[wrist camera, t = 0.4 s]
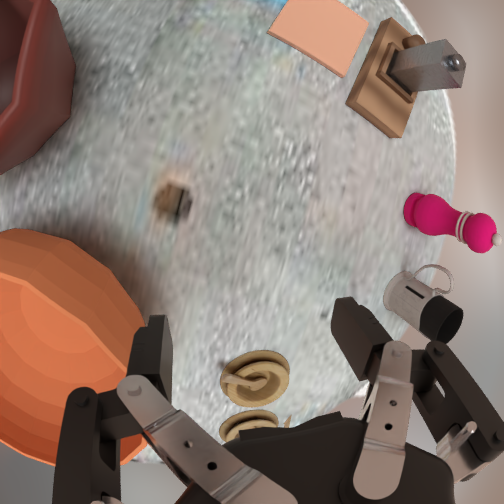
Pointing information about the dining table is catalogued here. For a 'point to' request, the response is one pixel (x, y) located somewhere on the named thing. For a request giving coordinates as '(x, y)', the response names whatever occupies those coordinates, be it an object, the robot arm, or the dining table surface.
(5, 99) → the bucket
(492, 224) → the pepper mill
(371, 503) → the robot arm
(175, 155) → the dining table surface
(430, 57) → the grey square grinder
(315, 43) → the coaster
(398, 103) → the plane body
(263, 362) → the tableware set
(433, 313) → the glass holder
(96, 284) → the bowl
